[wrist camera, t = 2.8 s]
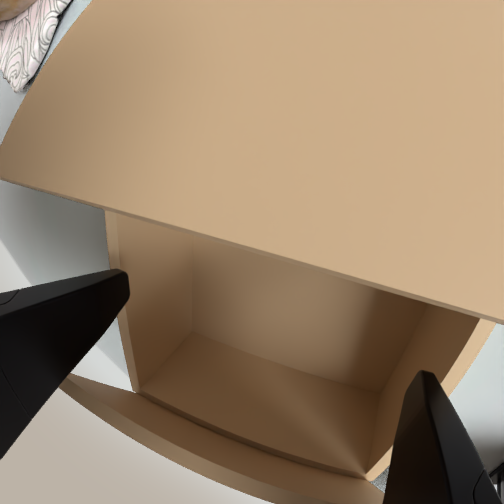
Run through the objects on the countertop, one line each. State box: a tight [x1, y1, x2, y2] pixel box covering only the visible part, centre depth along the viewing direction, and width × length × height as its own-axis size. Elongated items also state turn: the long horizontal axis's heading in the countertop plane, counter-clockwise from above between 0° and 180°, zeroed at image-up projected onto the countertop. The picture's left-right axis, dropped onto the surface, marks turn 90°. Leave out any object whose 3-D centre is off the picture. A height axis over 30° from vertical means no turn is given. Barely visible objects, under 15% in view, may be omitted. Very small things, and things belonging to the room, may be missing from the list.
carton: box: [105, 210, 496, 481], centre depth 12 cm, size 18×13×6 cm
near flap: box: [0, 0, 504, 325], centre depth 4 cm, size 7×12×1 cm
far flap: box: [59, 373, 385, 504], centre depth 10 cm, size 7×12×1 cm
